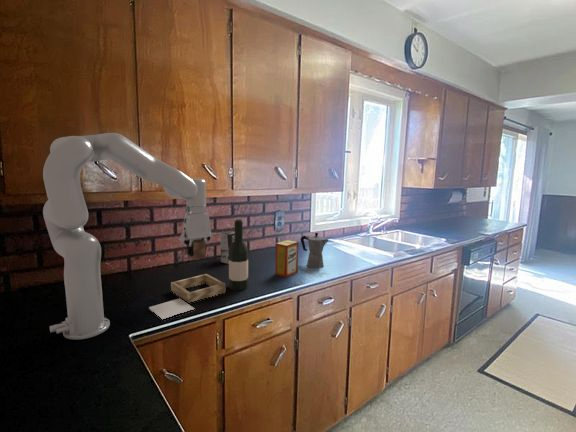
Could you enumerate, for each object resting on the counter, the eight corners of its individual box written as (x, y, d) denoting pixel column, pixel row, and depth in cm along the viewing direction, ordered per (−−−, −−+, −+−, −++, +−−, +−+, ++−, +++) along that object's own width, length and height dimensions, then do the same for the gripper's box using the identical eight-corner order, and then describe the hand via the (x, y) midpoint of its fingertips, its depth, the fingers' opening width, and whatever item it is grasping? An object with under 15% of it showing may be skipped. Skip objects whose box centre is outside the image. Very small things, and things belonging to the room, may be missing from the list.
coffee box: (229, 264, 170) (229, 234, 167) (220, 262, 173) (220, 233, 171) (240, 260, 178) (240, 231, 175) (231, 258, 181) (231, 230, 178)
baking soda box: (285, 277, 153) (286, 244, 150) (275, 274, 156) (275, 242, 154) (297, 272, 160) (298, 241, 157) (287, 269, 164) (287, 239, 161)
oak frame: (188, 303, 122) (188, 294, 121) (171, 291, 133) (170, 282, 132) (225, 292, 133) (225, 283, 132) (206, 282, 144) (206, 273, 143)
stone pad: (162, 320, 109) (162, 319, 108) (148, 308, 117) (148, 307, 117) (194, 310, 117) (194, 308, 117) (180, 299, 125) (179, 298, 125)
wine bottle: (229, 291, 135) (229, 221, 130) (228, 284, 143) (227, 217, 138) (249, 289, 137) (249, 220, 132) (246, 282, 145) (247, 217, 140)
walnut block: (194, 259, 127) (194, 242, 126) (188, 257, 130) (188, 240, 129) (205, 257, 130) (205, 240, 129) (199, 254, 134) (199, 238, 133)
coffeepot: (329, 264, 173) (331, 232, 170) (324, 269, 165) (326, 235, 162) (302, 260, 179) (304, 229, 176) (296, 265, 171) (297, 232, 168)
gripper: (180, 212, 119) (181, 260, 121) (220, 209, 130) (220, 252, 133) (171, 210, 124) (172, 255, 127) (210, 207, 136) (210, 249, 139)
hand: (197, 253), depth 130 cm, fingers closed on walnut block, 5 cm apart
